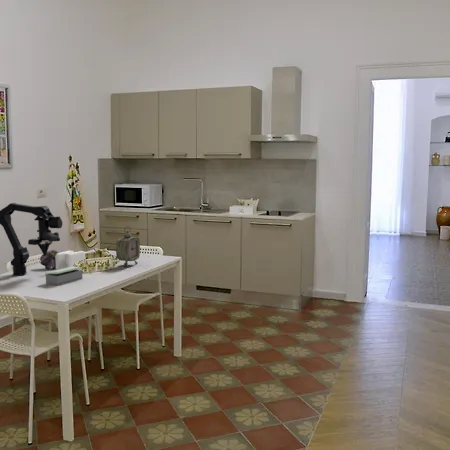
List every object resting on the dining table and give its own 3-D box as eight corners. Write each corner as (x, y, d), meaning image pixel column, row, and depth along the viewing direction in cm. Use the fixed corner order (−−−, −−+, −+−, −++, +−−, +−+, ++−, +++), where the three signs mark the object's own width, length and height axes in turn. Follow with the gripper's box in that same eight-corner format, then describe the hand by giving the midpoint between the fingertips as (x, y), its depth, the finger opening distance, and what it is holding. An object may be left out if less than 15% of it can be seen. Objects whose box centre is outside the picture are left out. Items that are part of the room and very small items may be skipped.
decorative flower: (39, 255, 322) (44, 244, 336) (35, 271, 326) (40, 260, 340) (63, 260, 325) (67, 249, 339) (60, 277, 329) (63, 265, 343)
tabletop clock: (128, 268, 331) (126, 227, 328) (115, 267, 334) (114, 227, 331) (140, 263, 344) (139, 225, 341) (128, 262, 348) (127, 224, 344)
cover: (45, 274, 290) (45, 272, 290) (70, 268, 305) (69, 266, 305) (57, 273, 285) (57, 272, 285) (81, 267, 300) (81, 266, 300)
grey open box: (46, 283, 290) (45, 274, 290) (70, 277, 306) (70, 268, 305) (57, 285, 286) (57, 276, 285) (82, 279, 301) (82, 270, 301)
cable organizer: (69, 274, 314) (68, 254, 313) (55, 272, 319) (54, 253, 317) (85, 269, 328) (85, 250, 327) (72, 268, 332) (71, 249, 331)
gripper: (40, 230, 296) (42, 258, 298) (66, 227, 312) (67, 253, 314) (26, 229, 301) (28, 257, 303) (52, 226, 318) (53, 252, 319)
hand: (45, 254), depth 310 cm, fingers closed
